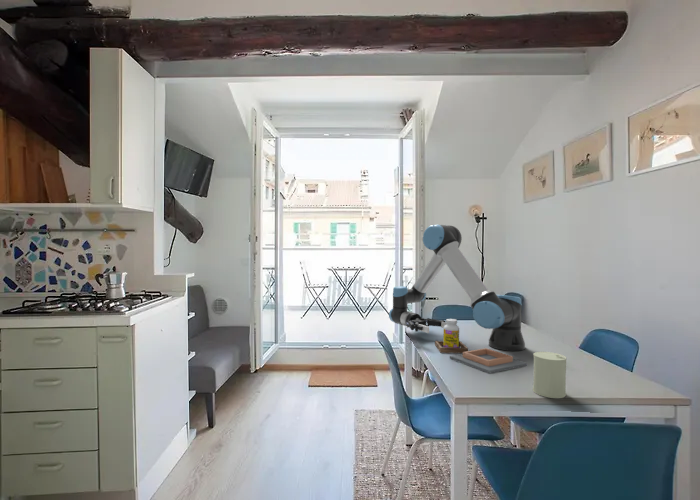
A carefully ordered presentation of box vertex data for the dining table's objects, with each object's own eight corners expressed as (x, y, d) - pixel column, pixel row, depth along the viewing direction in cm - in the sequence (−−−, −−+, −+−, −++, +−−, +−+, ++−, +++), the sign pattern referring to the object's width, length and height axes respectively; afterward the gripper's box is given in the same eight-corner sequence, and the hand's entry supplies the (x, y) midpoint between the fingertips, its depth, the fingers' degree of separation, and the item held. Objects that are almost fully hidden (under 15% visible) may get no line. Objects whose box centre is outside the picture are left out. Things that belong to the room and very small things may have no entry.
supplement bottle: (442, 350, 166) (443, 320, 166) (443, 346, 172) (444, 317, 172) (458, 351, 164) (459, 321, 163) (459, 348, 170) (459, 319, 170)
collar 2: (462, 357, 153) (462, 352, 153) (485, 352, 159) (486, 348, 159) (488, 366, 141) (488, 361, 141) (512, 361, 148) (512, 356, 148)
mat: (449, 358, 154) (449, 355, 154) (485, 352, 164) (485, 349, 164) (489, 373, 137) (489, 370, 137) (526, 365, 146) (526, 362, 146)
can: (565, 400, 113) (566, 360, 113) (530, 394, 118) (531, 355, 118) (566, 390, 121) (567, 353, 121) (534, 384, 126) (535, 348, 126)
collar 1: (435, 345, 174) (435, 340, 174) (460, 345, 174) (461, 341, 174) (440, 352, 162) (440, 347, 162) (468, 353, 162) (468, 348, 162)
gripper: (430, 325, 198) (460, 334, 180) (390, 329, 187) (418, 339, 168) (430, 310, 198) (460, 317, 180) (390, 314, 186) (418, 322, 168)
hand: (440, 328), depth 174 cm, fingers open, 13 cm apart
